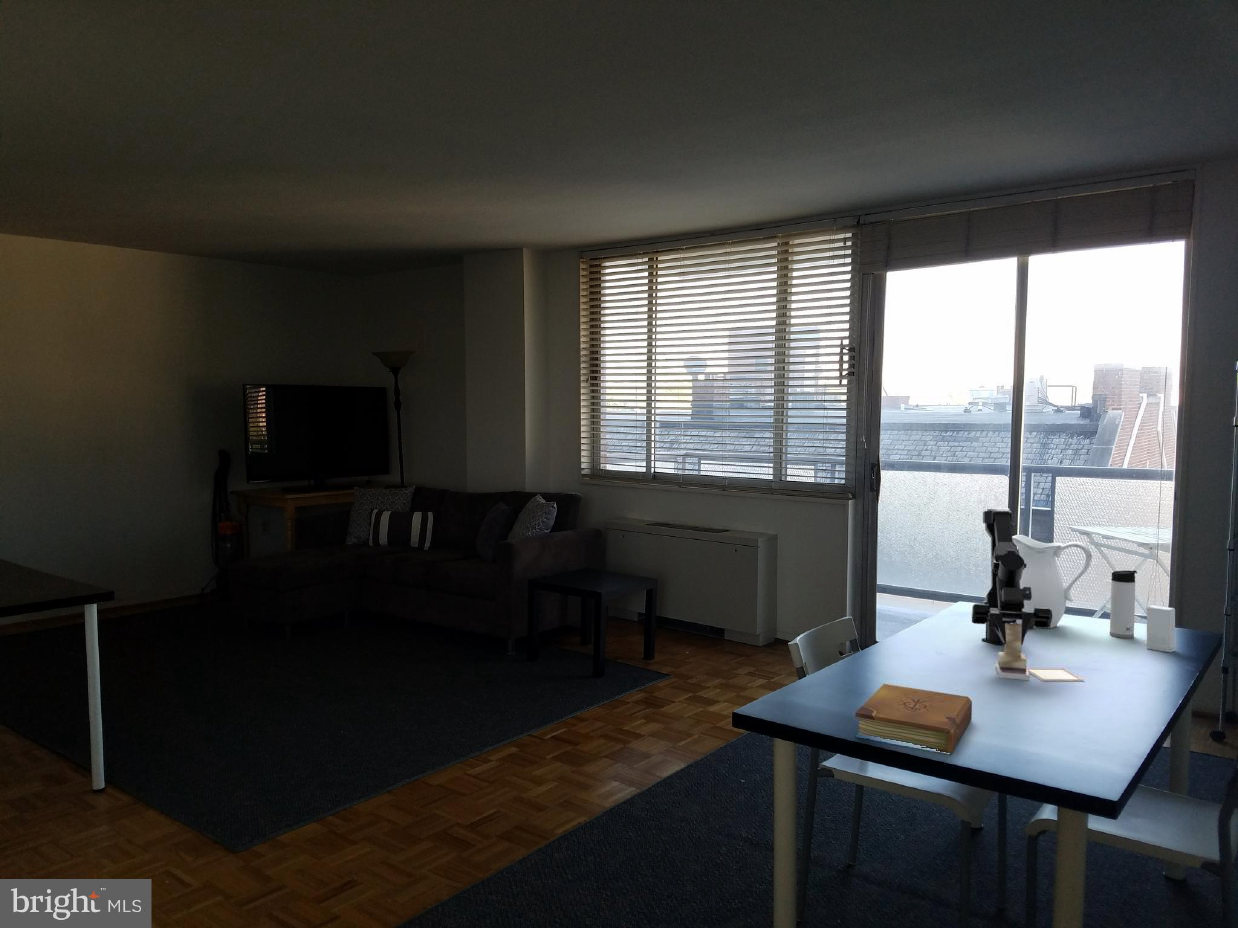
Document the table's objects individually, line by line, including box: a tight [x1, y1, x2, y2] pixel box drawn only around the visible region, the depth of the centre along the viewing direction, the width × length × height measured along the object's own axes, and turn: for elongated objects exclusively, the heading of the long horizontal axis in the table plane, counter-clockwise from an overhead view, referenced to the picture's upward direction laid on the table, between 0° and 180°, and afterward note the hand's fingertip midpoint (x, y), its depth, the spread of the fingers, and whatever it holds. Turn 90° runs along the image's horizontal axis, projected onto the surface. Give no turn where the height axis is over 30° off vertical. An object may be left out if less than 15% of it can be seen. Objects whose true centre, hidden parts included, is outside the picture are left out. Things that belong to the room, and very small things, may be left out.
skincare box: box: [1146, 605, 1176, 653], centre depth 245 cm, size 6×4×12 cm
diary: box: [854, 683, 973, 755], centre depth 182 cm, size 23×19×6 cm
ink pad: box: [994, 663, 1031, 681], centre depth 222 cm, size 9×7×2 cm
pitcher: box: [1012, 534, 1093, 629], centre depth 273 cm, size 24×17×28 cm
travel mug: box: [1109, 569, 1138, 639], centre depth 261 cm, size 6×7×20 cm
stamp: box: [997, 623, 1028, 672], centre depth 221 cm, size 6×5×11 cm
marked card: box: [1026, 667, 1086, 682], centre depth 221 cm, size 10×10×1 cm
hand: (1013, 643), depth 220 cm, fingers closed on stamp, 3 cm apart
